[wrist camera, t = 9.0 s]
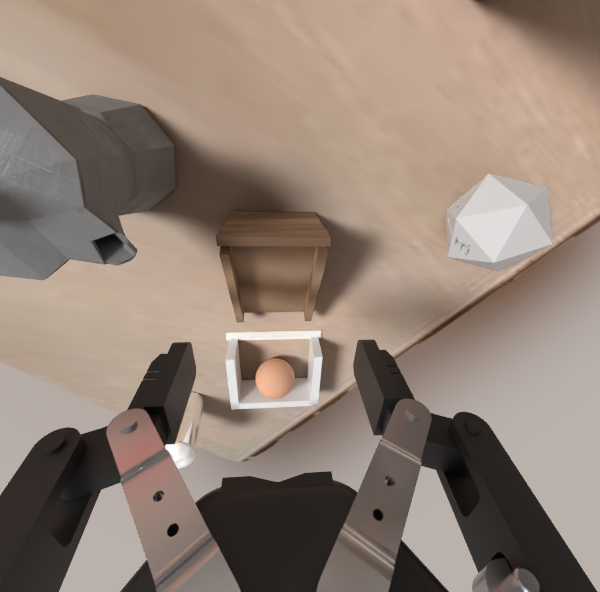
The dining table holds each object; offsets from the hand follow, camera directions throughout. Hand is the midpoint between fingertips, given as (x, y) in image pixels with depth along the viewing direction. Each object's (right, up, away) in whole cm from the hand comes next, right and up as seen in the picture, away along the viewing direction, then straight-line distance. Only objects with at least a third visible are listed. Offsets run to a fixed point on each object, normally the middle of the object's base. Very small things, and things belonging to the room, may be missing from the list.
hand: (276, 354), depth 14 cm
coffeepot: (-15, +16, +11) cm, 25 cm away
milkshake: (-14, -12, +27) cm, 33 cm away
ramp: (-2, +6, +18) cm, 19 cm away
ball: (-2, -8, +23) cm, 24 cm away
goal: (-2, -6, +25) cm, 26 cm away
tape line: (-2, -2, +22) cm, 23 cm away
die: (+19, +12, +17) cm, 28 cm away
